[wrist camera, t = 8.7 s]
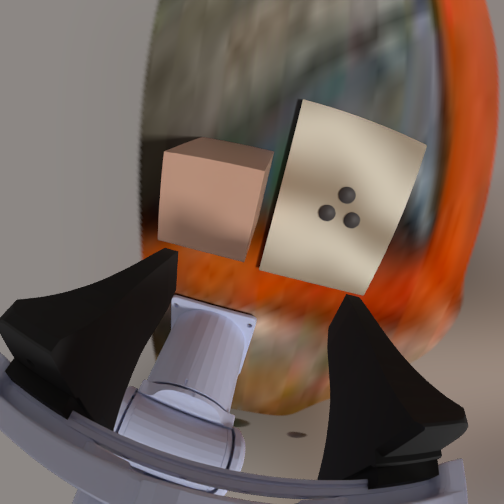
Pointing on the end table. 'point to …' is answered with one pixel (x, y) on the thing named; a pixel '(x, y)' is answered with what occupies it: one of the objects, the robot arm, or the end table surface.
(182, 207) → the salmon cube
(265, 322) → the end table surface
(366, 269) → the birch board
